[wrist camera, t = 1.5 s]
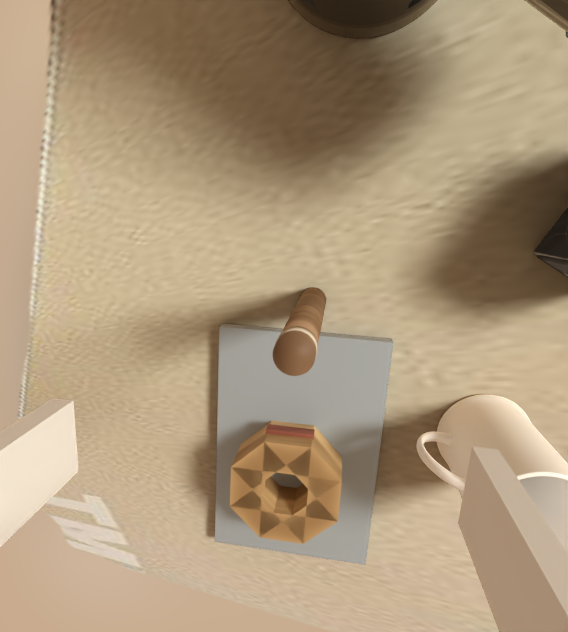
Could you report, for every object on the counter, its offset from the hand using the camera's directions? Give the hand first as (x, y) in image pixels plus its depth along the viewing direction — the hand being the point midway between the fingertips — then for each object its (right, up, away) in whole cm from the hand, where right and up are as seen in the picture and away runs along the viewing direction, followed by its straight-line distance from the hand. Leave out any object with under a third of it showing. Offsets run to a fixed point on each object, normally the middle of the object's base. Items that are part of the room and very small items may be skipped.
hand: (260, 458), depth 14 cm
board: (+2, -8, +29) cm, 30 cm away
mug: (+18, -6, +26) cm, 32 cm away
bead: (+1, -11, +28) cm, 30 cm away
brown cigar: (+3, +6, +25) cm, 26 cm away
